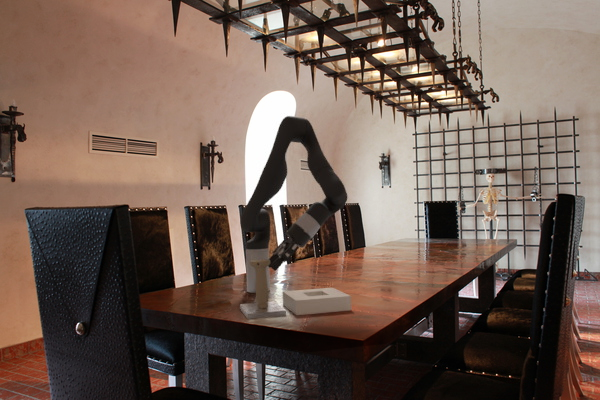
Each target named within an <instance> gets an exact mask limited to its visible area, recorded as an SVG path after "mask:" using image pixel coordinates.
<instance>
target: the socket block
mask: <svg viewBox="0 0 600 400" xmlns="http://www.w3.org/2000/svg"><path fill="white" fill-rule="evenodd" d="M282 305H283V306H284V307H285V308H287V309H288V310H289V311H291V312H292V313H293V314H294V315H295V316H301V315H302V316H304V315H312V314H313V315H315V314H326V313H334V312H336V313H337V312H347V311H348V312H349V311H352V296H351V295H350V294H347V293H345V292H342V291H341V290H338V289H336V288H334V287H325V288H310V289H299V290H285V291H284V290H283V291H282Z"/></svg>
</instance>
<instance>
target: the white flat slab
mask: <svg viewBox="0 0 600 400" xmlns="http://www.w3.org/2000/svg"><path fill="white" fill-rule="evenodd" d="M267 303H268V307H267V308H262V309H261V308H258V305H257V304H258V303H256V302H252V303H240V304H239V309H241V310H240V312H242V314H243V315H244V317H245V318H246V320H250V319H261V318H273V317H282V316H287V311H286V309H285V308H284V307H283V306H282V305H280V304H279V303H278V302H276V301H275V300H274V301H268V302H267Z"/></svg>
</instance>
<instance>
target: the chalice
mask: <svg viewBox="0 0 600 400" xmlns="http://www.w3.org/2000/svg"><path fill="white" fill-rule="evenodd" d="M250 253H251V261H252V260H268V259H269V258H270V257H269V258H268V254H269V253H270V249H269V250H256V251H250ZM269 255H270V254H269ZM252 268H253V270H254V272H255V274H256V271H255V268H254V267H253V266H252ZM267 268H268V266H267V267H266V271H267ZM253 303H257V299H256V297H255V298H254V300H253Z"/></svg>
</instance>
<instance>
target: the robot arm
mask: <svg viewBox="0 0 600 400" xmlns="http://www.w3.org/2000/svg"><path fill="white" fill-rule="evenodd" d="M291 143H299V144H301V145H302V146H303V147H304V148H305V150H306V152H307V156H306V157H307V159H306V162H307V167H308V170H309V172H310V173H311V175H312V177H313V179H314V180H315V181H316V183H317V184H318V185H319V186H320V188H321V190H322V192H323V193H324V197H325V198H323V200H322V201H315V202H313V203H312V204H311V205H310V206H309V207H308V209H306V210H305V212H304V213H303V214H301V215H300V216H299V217H298V219H297V220H296V221H295V222H293V224H292V225H291V226H290V227H289V228H288V230H287V231H285V235H286V236H287V237H288V239H287V240H286V239H284V240H282V241H281V243H279V245H278V246H277V247H276V248H274V250H273V251H272V254H271V256H270V254H268V258H269V259H268V260H270V265H268V268H267V271H266V275H267V284H268V292H270V289H271V288H270V287H271V285H270V281H271V280H270V279H271V278H270V268H271V269H272V270H273V271H277V270H279V268H280V267H281V266H282V265H283V263H286V262H288V261H290V259H291V257H293V256H294V254H295V253H296V252H298V250H299V248H302V249H303V248H305V246H306V245H307V244H308V243H309V242H310V241H311V240H312V239H313V237H314V236H315V235H316V234H317V233H318V231H319V229H320V228H321V227H322V226H323V225H324V224H325V222H326V221H327V220H328V219H329V218H330V217H331V216H333V215H335V214H336V213H338V212H339V211H340V210H341V209H342V208H343V207H344V206H345V204H347V201H348V193H347V190H346V187H345V184H344V183H343V181H342V180H341V178H340V177H339V176H338V175H337V173H335V171H334V169H333V168H332V166H331V164H330V162H329V161H328V159H327V157H326V156H325V154H324V152H323V150H322V148H321V145H320V141H319V140H318V138H317V135H316V132H315V130H314V128H313V125H312V123H311V122H310V120H308V119H307V118H304V117H299V116H294V115H287V116H285V117H284V118H283V119H282V120H281V122H280V123H279V126H278V129H277V132H276V136H275V138H274V142H273V145H272V148H271V151H270V153H269V156H268V158H267V160H266V163H265V165H264V167H263V169H262V171H261V174H260V177H259V179H258V182H257V184H256V186H255V189H254V191H253V193H252V195H251V197H250V199H249V200H248V202H247V204H246V206H245V208H244V209H243V212H242V213H241V216H240V228H241V229H242V231H244V232H247V233H254V234H253V235H254V236H253V237H252V238H251V239H249V240H247V241H246V242H245V264H246V265H245V266H246V267H245V268H246V291H247V293H251V294H253V293H254V294H256V274H255V272H254V270H253V268H252V266H251V265H250V261H251V253H250V251H256V250H269V251H270V249H269V248H270V247H269V245H270V241H271V217H270V214H269V212H268V210H267V209H264V208H263V207H264V206H265V205H266V204H267V203H268V202H269V201H270V200H271V199H273V198H274V197H275V196H276V195H277V194H278V193H279V192H280V191H281V189H282V187H283V186H284V183H285V181H286V179H287V176H288V164H287V160H286V159H287V157H286V156H287V155H286V154H287V151H288V149H289V147H290V144H291Z"/></svg>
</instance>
